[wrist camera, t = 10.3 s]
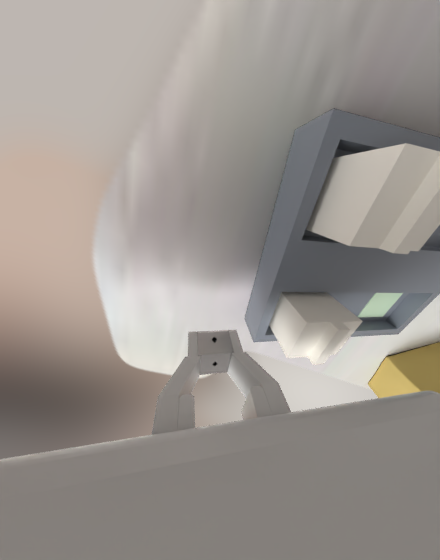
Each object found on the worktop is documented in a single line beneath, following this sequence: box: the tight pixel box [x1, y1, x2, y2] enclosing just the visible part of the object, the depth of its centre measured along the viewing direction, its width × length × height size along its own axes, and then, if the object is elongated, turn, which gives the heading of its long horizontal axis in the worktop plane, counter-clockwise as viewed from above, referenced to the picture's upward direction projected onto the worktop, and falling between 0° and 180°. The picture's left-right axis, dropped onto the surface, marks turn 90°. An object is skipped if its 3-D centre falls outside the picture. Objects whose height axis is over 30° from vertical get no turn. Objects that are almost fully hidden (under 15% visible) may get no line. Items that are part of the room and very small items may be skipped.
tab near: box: [306, 143, 440, 254], centre depth 7 cm, size 3×4×4 cm
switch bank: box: [245, 109, 440, 342], centre depth 12 cm, size 14×16×3 cm
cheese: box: [368, 342, 440, 398], centre depth 23 cm, size 10×11×10 cm
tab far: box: [269, 292, 363, 365], centre depth 11 cm, size 3×4×4 cm
